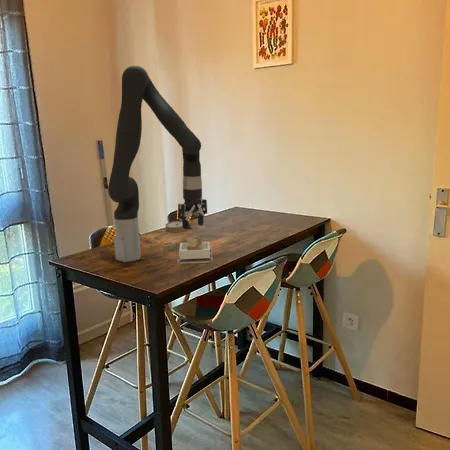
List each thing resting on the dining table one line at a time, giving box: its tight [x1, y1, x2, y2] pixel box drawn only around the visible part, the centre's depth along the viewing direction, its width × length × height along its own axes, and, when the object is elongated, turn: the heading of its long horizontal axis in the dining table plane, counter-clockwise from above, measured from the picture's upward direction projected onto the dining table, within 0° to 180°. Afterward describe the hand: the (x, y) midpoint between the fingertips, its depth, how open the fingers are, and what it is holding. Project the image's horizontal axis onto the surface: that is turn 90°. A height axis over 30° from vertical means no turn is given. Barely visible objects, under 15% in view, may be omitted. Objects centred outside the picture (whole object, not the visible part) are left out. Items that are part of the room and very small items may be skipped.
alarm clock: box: [163, 218, 193, 234], centre depth 237 cm, size 11×5×15 cm
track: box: [176, 243, 214, 265], centre depth 195 cm, size 25×14×1 cm, turn 3°
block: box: [186, 235, 203, 250], centre depth 190 cm, size 4×4×6 cm
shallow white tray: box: [177, 241, 213, 260], centre depth 190 cm, size 12×13×4 cm
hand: (193, 226), depth 189 cm, fingers open, 8 cm apart
